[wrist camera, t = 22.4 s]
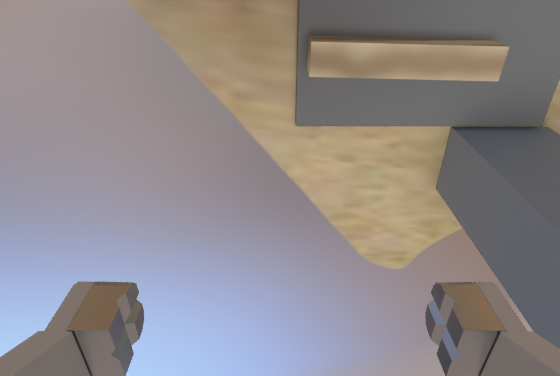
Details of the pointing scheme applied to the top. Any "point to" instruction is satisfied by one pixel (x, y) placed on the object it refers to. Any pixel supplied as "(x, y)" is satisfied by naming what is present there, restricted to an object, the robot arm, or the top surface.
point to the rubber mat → (433, 93)
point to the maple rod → (405, 58)
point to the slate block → (511, 211)
